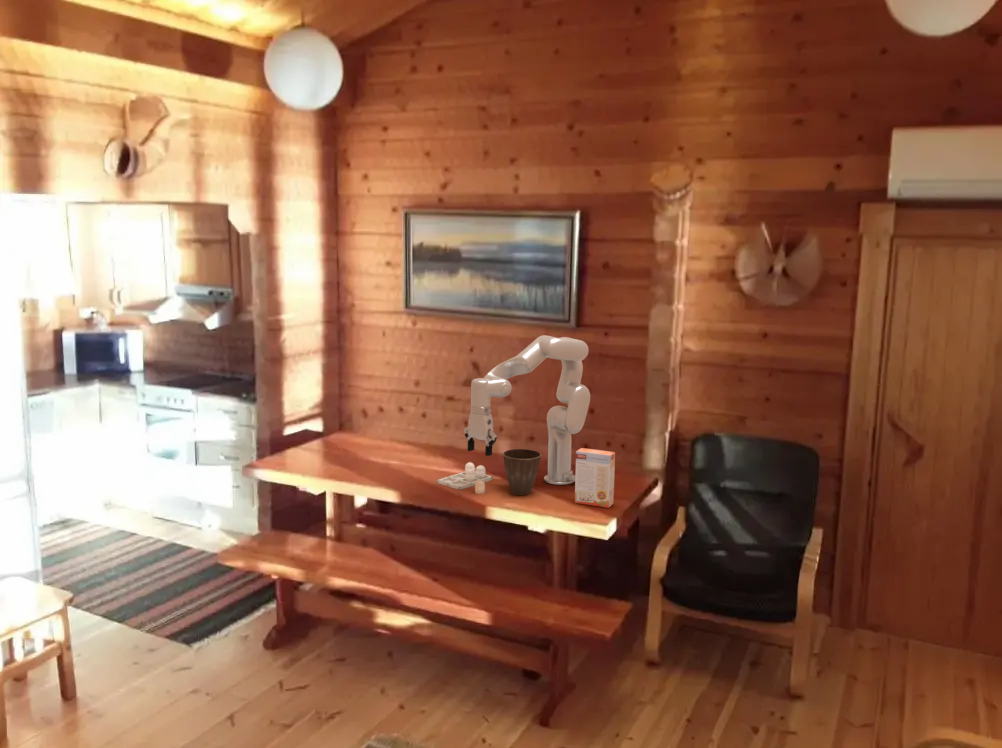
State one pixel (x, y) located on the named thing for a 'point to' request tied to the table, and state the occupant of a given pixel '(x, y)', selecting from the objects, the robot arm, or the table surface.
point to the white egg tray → (460, 481)
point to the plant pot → (521, 469)
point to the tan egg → (479, 487)
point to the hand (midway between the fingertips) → (479, 452)
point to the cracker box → (594, 477)
